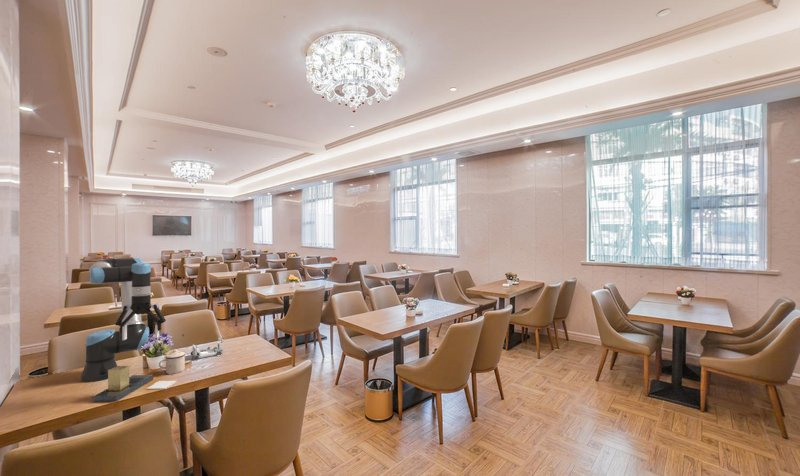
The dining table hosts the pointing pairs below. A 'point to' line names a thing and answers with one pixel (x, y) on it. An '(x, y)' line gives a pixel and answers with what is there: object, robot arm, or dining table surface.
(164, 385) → the mat
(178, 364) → the teacup with lid
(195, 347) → the silver irregular piece
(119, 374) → the brass block
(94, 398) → the dark grey tray
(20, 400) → the dining table surface
